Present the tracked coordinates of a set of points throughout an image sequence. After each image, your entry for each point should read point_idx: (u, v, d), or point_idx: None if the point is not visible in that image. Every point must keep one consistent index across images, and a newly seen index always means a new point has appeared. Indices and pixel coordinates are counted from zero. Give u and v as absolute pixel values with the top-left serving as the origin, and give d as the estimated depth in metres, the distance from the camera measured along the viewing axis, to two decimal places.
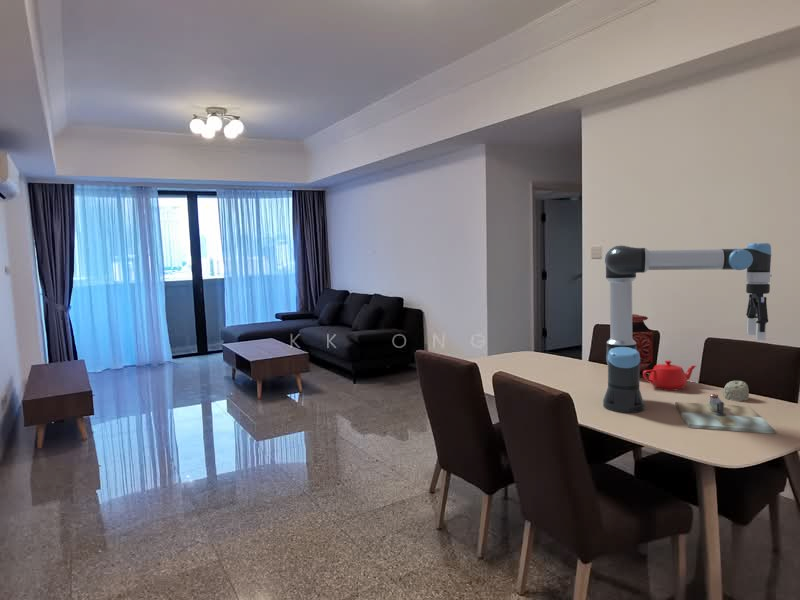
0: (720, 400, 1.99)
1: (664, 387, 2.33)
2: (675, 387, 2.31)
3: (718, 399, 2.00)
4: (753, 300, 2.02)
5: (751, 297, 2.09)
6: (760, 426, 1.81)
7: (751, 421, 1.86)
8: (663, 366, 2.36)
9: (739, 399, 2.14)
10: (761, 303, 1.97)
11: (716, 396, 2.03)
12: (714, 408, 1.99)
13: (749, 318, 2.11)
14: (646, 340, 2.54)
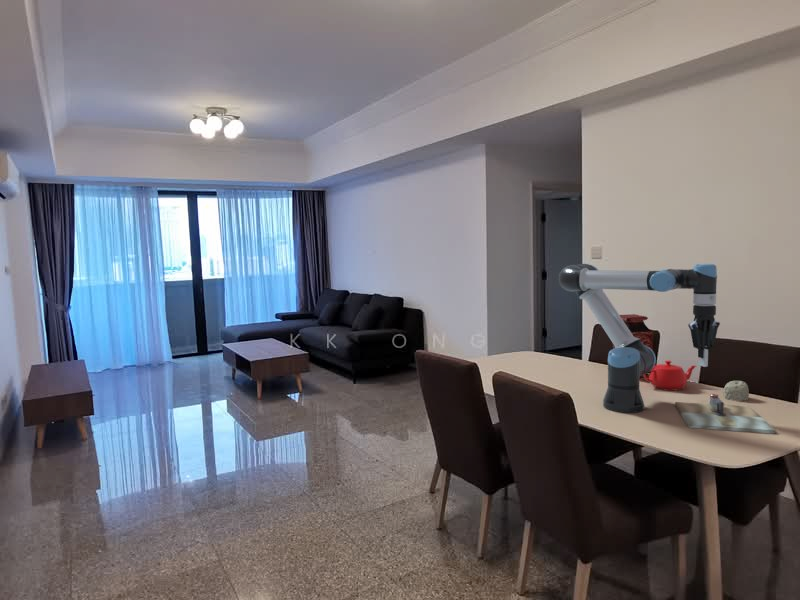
0: (720, 400, 1.99)
1: (664, 387, 2.33)
2: (675, 387, 2.31)
3: (718, 399, 2.00)
4: None
5: None
6: (760, 426, 1.81)
7: (751, 421, 1.86)
8: (663, 366, 2.36)
9: (739, 399, 2.14)
10: (692, 329, 1.98)
11: (716, 396, 2.03)
12: (714, 408, 1.99)
13: None
14: (646, 340, 2.54)
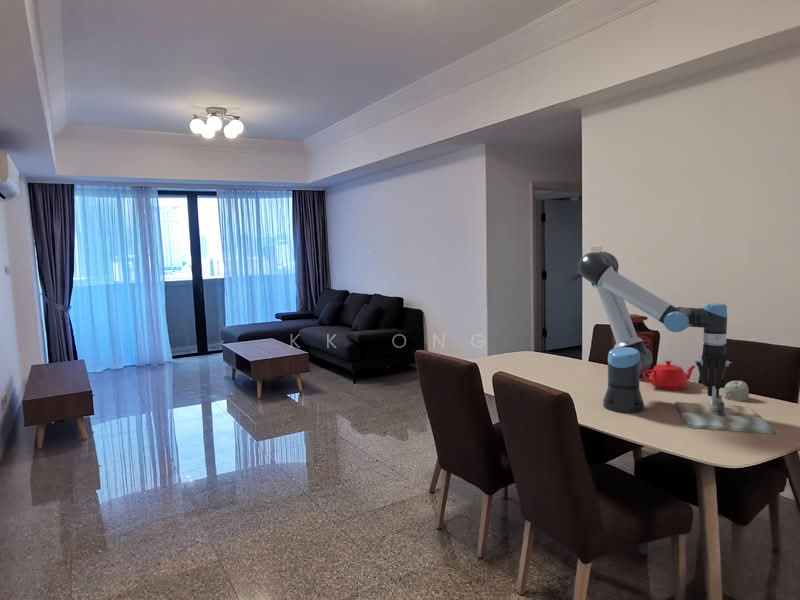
0: (722, 400, 1.98)
1: (664, 387, 2.33)
2: (675, 387, 2.31)
3: (720, 399, 2.00)
4: None
5: None
6: (760, 426, 1.81)
7: (751, 421, 1.86)
8: (663, 366, 2.36)
9: (739, 399, 2.14)
10: (699, 367, 2.02)
11: (719, 396, 2.02)
12: (716, 408, 1.99)
13: (713, 387, 2.02)
14: (646, 340, 2.54)
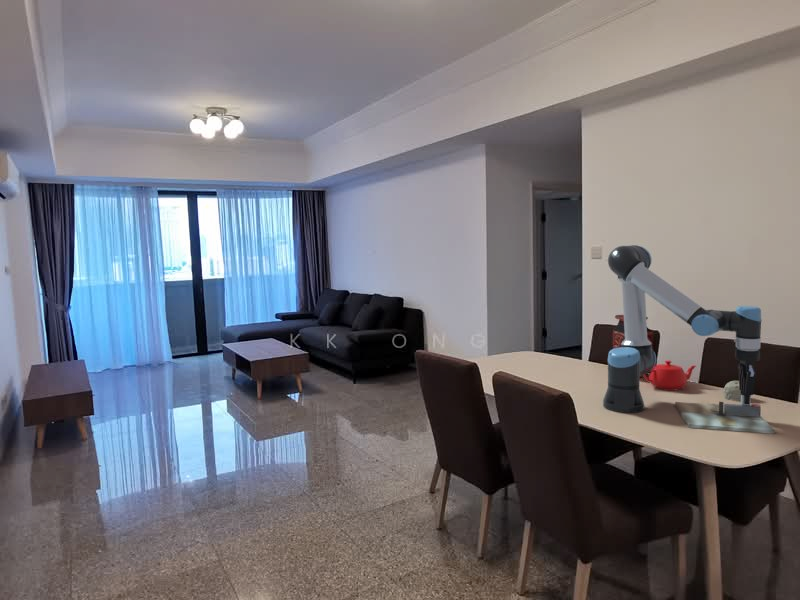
0: (738, 406, 1.91)
1: (664, 387, 2.33)
2: (675, 387, 2.31)
3: (742, 406, 1.91)
4: None
5: None
6: (760, 426, 1.81)
7: (751, 421, 1.86)
8: (663, 366, 2.36)
9: (739, 399, 2.14)
10: None
11: (752, 405, 1.90)
12: None
13: None
14: None
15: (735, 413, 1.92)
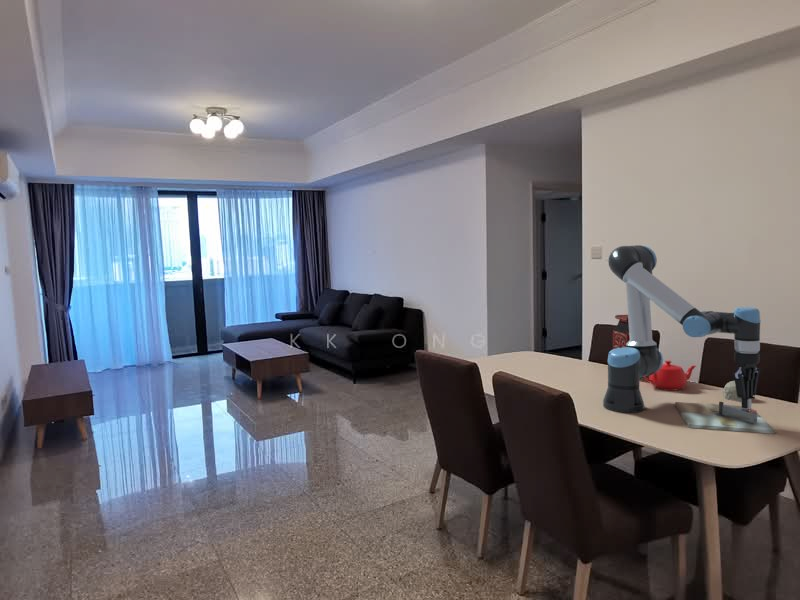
0: (734, 408, 1.89)
1: (664, 387, 2.33)
2: (675, 387, 2.31)
3: (738, 409, 1.88)
4: (755, 371, 1.85)
5: None
6: (760, 426, 1.81)
7: None
8: (663, 366, 2.36)
9: (739, 399, 2.14)
10: None
11: (747, 410, 1.85)
12: None
13: None
14: None
15: (731, 415, 1.90)
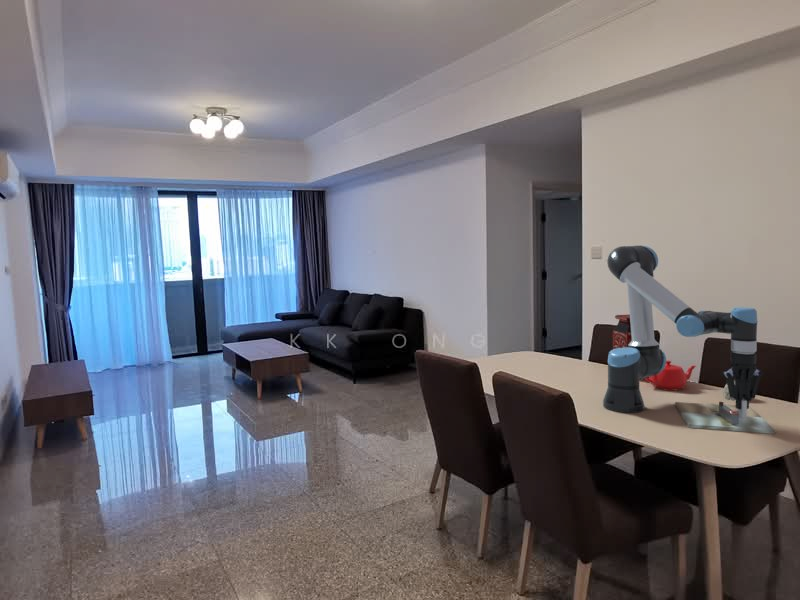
0: (724, 408, 1.89)
1: (664, 387, 2.33)
2: (675, 387, 2.31)
3: (727, 409, 1.87)
4: (751, 373, 1.82)
5: None
6: (760, 426, 1.81)
7: (751, 421, 1.86)
8: None
9: None
10: None
11: None
12: None
13: (742, 400, 1.83)
14: None
15: (722, 415, 1.90)
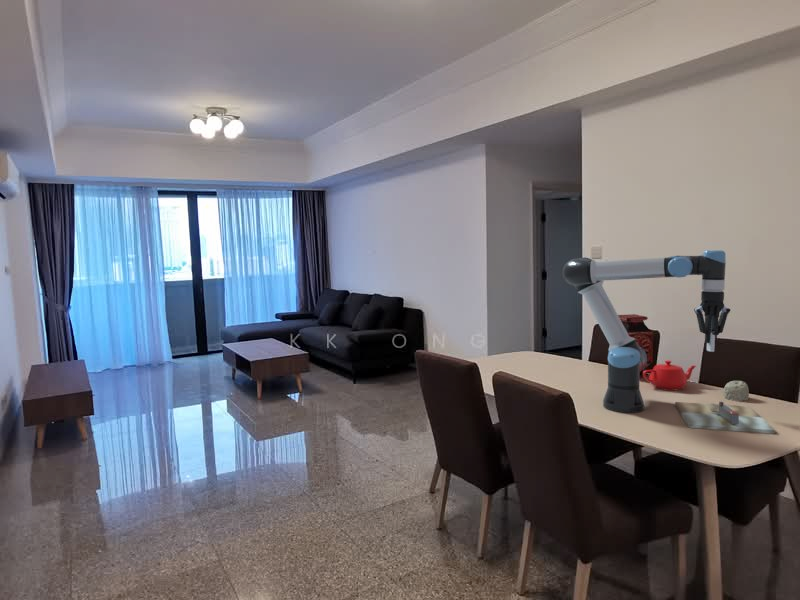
0: (724, 408, 1.89)
1: (664, 387, 2.33)
2: (675, 387, 2.31)
3: (727, 409, 1.87)
4: (719, 309, 2.00)
5: None
6: (760, 426, 1.81)
7: (751, 421, 1.86)
8: (663, 366, 2.36)
9: (739, 399, 2.14)
10: None
11: None
12: None
13: None
14: (646, 340, 2.54)
15: (722, 415, 1.90)
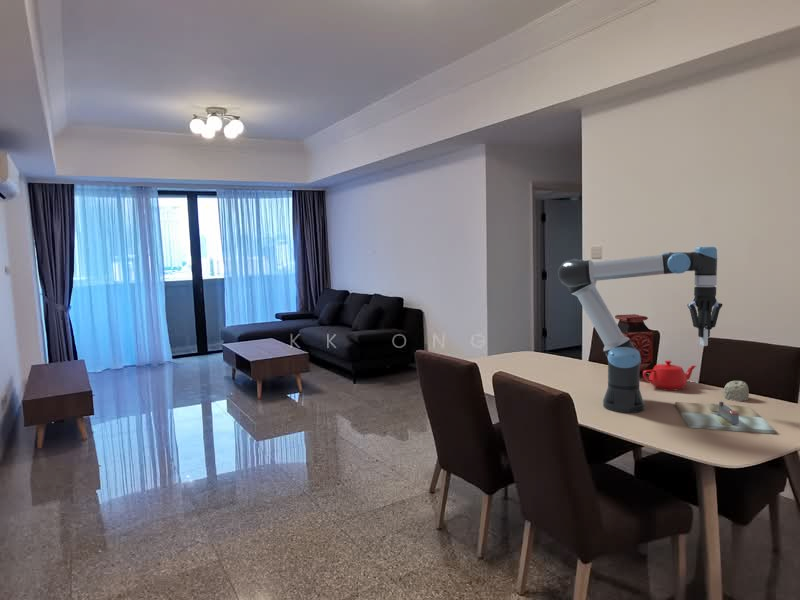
0: (724, 408, 1.89)
1: (664, 387, 2.33)
2: (675, 387, 2.31)
3: (727, 409, 1.87)
4: (712, 304, 2.05)
5: None
6: (760, 426, 1.81)
7: (751, 421, 1.86)
8: (663, 366, 2.36)
9: (739, 399, 2.14)
10: None
11: None
12: None
13: None
14: (646, 340, 2.54)
15: (722, 415, 1.90)
